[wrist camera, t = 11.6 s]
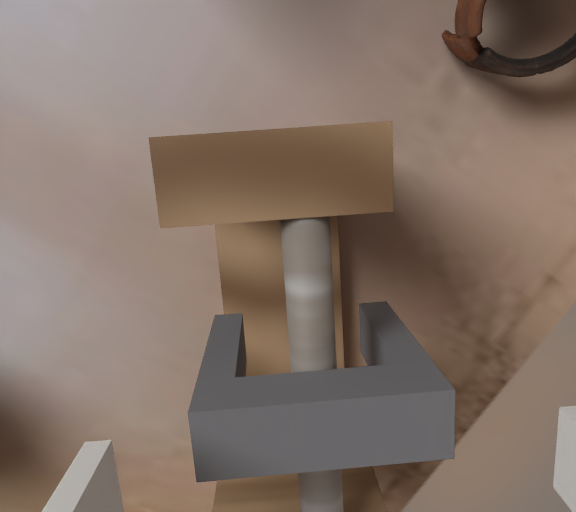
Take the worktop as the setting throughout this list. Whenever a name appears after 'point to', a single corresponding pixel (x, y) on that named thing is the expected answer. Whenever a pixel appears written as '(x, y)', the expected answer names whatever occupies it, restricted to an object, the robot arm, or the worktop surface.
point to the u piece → (320, 407)
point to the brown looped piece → (489, 60)
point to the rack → (281, 264)
